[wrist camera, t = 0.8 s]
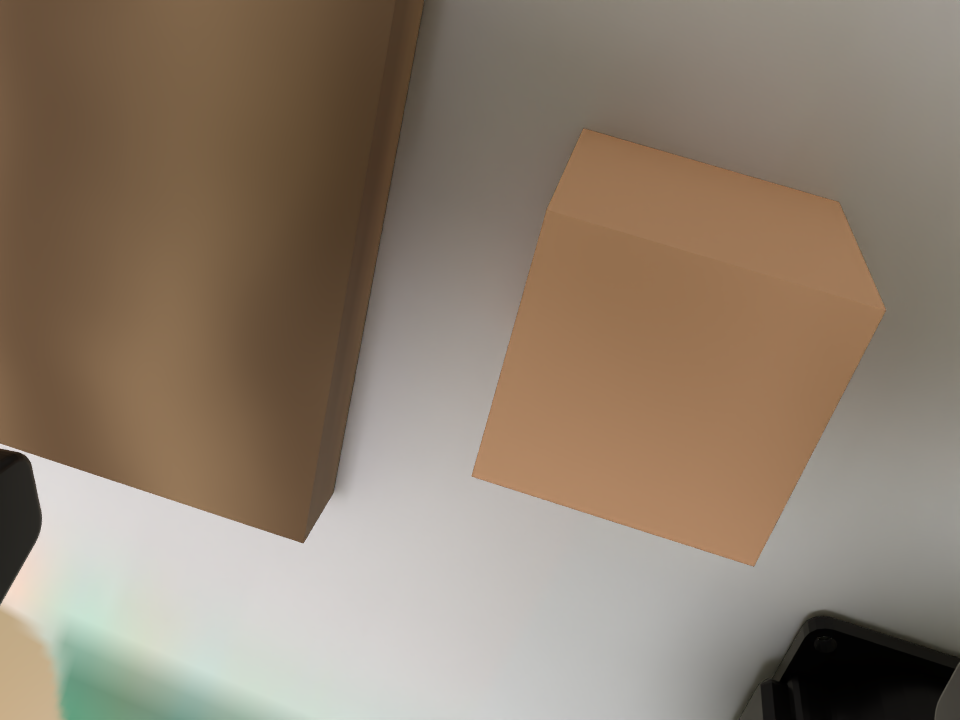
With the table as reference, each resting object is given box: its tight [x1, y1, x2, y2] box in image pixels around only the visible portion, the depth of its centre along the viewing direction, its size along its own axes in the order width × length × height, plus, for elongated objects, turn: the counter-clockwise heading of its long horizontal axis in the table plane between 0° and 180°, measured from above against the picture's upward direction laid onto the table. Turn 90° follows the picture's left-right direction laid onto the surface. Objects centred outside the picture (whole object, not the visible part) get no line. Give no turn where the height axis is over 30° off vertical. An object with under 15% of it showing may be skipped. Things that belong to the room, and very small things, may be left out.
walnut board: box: [0, 0, 424, 543], centre depth 18 cm, size 12×16×2 cm
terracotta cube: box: [472, 128, 886, 567], centre depth 16 cm, size 5×5×5 cm
